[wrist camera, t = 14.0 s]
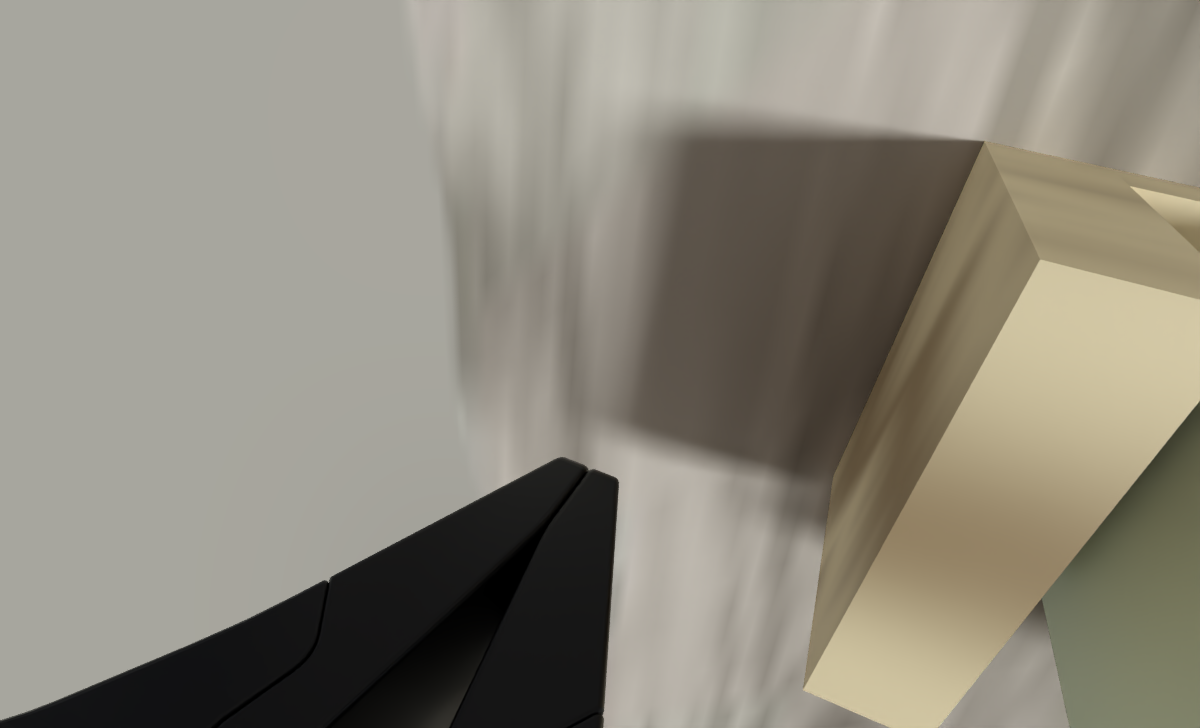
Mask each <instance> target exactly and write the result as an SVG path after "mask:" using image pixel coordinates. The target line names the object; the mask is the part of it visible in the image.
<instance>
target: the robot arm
mask: <svg viewBox="0 0 1200 728" xmlns="http://www.w3.org/2000/svg"><path fill="white" fill-rule="evenodd" d="M618 490H619V482H618V479H617V478H615V477H613V476H611V475H608V474H605V473H603V472H600V471H598V470H595V469H592V470H588V468H587V467H586V466H585V465H583V464H580V463H578V462H575V461H573V460H570V459H568V458H565V457H560V458H557V459H554V460H553V461H551V462H549V463H547V464H545V465H543V466H541V467H539V468H537V469H535V470H534V471H532V472H530V473H528V474H526V475H524V476H522V477H520V478H518V479H516V480H514V481H513V482H511V483H509V484H507V485H505V486H503V487H501V488H499V489H497V490H495V491H494V492H492V493H490V494H488V495H486V496H484V497H482V498H480V499H478V500H476V501H474V502H473V503H471V504H469V505H467V506H465V507H463V508H461V509H459V510H457V511H455V512H454V513H452V514H450V515H448V516H446V517H444V518H442V519H440V520H438V521H436V522H434V523H433V524H431V525H429V526H427V527H425V528H423V529H421V530H419V531H418V532H415V533H414V534H412V535H410V536H408V537H406V538H404V539H402V540H400V541H398V542H396V543H395V544H393V545H391V546H389V547H387V548H385V549H383V550H381V551H379V552H377V553H376V554H374V555H372V556H370V557H368V558H366V559H364V560H362V561H360V562H358V563H357V564H355V565H353V566H351V567H349V568H347V569H345V570H343V571H341V572H339V573H337V574H336V575H334V576H332V577H331V578H330V580H329V583H328V582H327V581H325V580H324V581H322V582H320V583H318V584H316V585H314V586H312V587H310V588H309V589H306V590H304V591H303V592H301V593H299V594H297V595H295V596H293V597H291V598H289V599H287V600H285V601H283V602H281V603H279V604H277V605H275V606H273V607H271V608H269V609H267V610H265V611H263V612H261V613H259V614H257V615H255V616H253V617H251V618H249V619H247V620H244V621H242V622H240V623H238V624H235V625H233V626H231V627H229V628H226V629H224V630H222V631H220V632H217V633H215V634H213V635H210V636H208V637H206V638H204V639H201V640H199V641H197V642H195V643H193V644H190V645H188V646H186V647H183V648H181V649H178V650H176V651H173V652H171V653H169V654H166V655H164V656H162V657H159V658H157V659H155V660H152V661H150V662H147V663H145V664H143V665H140V666H138V667H135V668H133V669H131V670H128V671H126V672H124V673H121V674H119V675H116V676H114V677H111V678H109V679H107V680H104V681H102V682H100V683H97V684H95V685H92V686H90V687H88V688H85V689H83V690H80V691H78V692H76V693H73V694H71V695H68V696H66V697H64V698H61V699H59V700H56V701H54V702H51V703H49V704H47V705H44V706H41V707H38V708H36V709H33V710H31V711H28V712H25V713H22V714H19V715H16V716H12V717H9V718H6V719H4V720H0V728H603V724H604V718H603V716H602V715H603V712H604V703H605V688H606V673H607V658H608V642H609V627H610V612H611V597H612V581H613V566H614V551H615V536H616V521H617V505H618Z"/></svg>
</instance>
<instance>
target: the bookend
mask: <svg viewBox="0 0 1200 728" xmlns="http://www.w3.org/2000/svg"><path fill="white" fill-rule="evenodd" d="M1199 401H1200V188H1198V187H1194V186H1189V185H1184V184H1180V183H1175V182H1170V181H1166V180H1161V179H1157V178H1152V177H1147V176H1143V175H1138V174H1134V173H1129V172H1124V171H1120V170H1115V169H1111V168H1106V167H1101V166H1097V165H1092V164H1087V163H1083V162H1078V161H1074V160H1069V159H1064V158H1060V157H1055V156H1051V155H1046V154H1041V153H1037V152H1032V151H1027V150H1023V149H1018V148H1014V147H1009V146H1004V145H1000V144H995V143H991V142H986V141H984V143H983V145H982V148H981V150H980V152H979V154H978V157H977V159H976V161H975V163H974V165H973V168H972V170H971V172H970V174H969V177H968V179H967V181H966V183H965V185H964V188H963V190H962V192H961V194H960V196H959V199H958V201H957V203H956V205H955V208H954V210H953V212H952V214H951V216H950V219H949V221H948V223H947V225H946V227H945V230H944V232H943V234H942V236H941V239H940V241H939V243H938V245H937V247H936V250H935V252H934V254H933V256H932V259H931V261H930V263H929V265H928V267H927V270H926V272H925V274H924V276H923V278H922V281H921V283H920V285H919V287H918V290H917V292H916V294H915V296H914V298H913V301H912V303H911V305H910V307H909V309H908V312H907V314H906V316H905V318H904V321H903V323H902V325H901V327H900V329H899V332H898V334H897V336H896V338H895V340H894V343H893V345H892V347H891V349H890V352H889V354H888V356H887V358H886V360H885V363H884V365H883V367H882V369H881V372H880V374H879V376H878V378H877V380H876V383H875V385H874V387H873V389H872V391H871V394H870V396H869V398H868V400H867V403H866V405H865V407H864V409H863V411H862V414H861V416H860V418H859V420H858V422H857V425H856V427H855V429H854V431H853V434H852V436H851V438H850V440H849V442H848V445H847V447H846V449H845V451H844V454H843V456H842V458H841V460H840V462H839V465H838V467H837V469H836V471H835V473H834V476H833V482H832V489H831V496H830V503H829V510H828V517H827V524H826V531H825V538H824V545H823V552H822V559H821V566H820V573H819V580H818V588H817V595H816V602H815V609H814V616H813V623H812V630H811V637H810V644H809V651H808V658H807V665H806V672H805V679H804V686H803V690H804V691H806V692H809V693H811V694H813V695H815V696H818V697H820V698H822V699H825V700H827V701H829V702H832V703H834V704H836V705H839V706H841V707H843V708H846V709H848V710H850V711H852V712H855V713H857V714H859V715H862V716H864V717H866V718H869V719H871V720H873V721H876V722H878V723H880V724H883V725H885V726H887V727H890V728H938V727H939V726H940V725H941V723H942V722H943V721H944V720H945V718H946V717H947V716H948V715H949V713H950V712H951V711H952V710H953V708H954V707H955V706H956V705H957V703H958V702H959V701H960V700H961V698H962V697H963V696H964V695H965V693H966V692H967V691H968V690H969V688H970V687H971V686H972V685H973V683H974V682H975V681H976V680H977V678H978V677H979V676H980V675H981V673H982V672H983V671H984V670H985V668H986V667H987V666H988V665H989V663H990V662H991V661H992V660H993V658H994V657H995V656H996V655H997V653H998V652H999V651H1000V650H1001V648H1002V647H1003V646H1004V645H1005V643H1006V642H1007V641H1008V640H1009V638H1010V637H1011V636H1012V635H1013V633H1014V632H1015V631H1016V630H1017V628H1018V627H1019V626H1020V625H1021V623H1022V622H1023V621H1024V620H1025V618H1026V617H1027V616H1028V615H1029V613H1030V612H1031V611H1032V610H1033V608H1034V607H1035V606H1036V605H1037V603H1038V602H1039V601H1040V600H1041V598H1042V597H1043V596H1044V595H1045V593H1046V592H1047V591H1048V590H1049V588H1050V587H1051V586H1052V585H1053V583H1054V582H1055V581H1056V580H1057V578H1058V577H1059V576H1060V575H1061V573H1062V572H1063V571H1064V570H1065V568H1066V567H1067V566H1068V565H1069V563H1070V562H1071V561H1072V560H1073V559H1074V557H1075V556H1076V555H1077V554H1078V552H1079V551H1080V550H1081V549H1082V547H1083V546H1084V545H1085V544H1086V542H1087V541H1088V540H1089V539H1090V537H1091V536H1092V535H1093V534H1094V532H1095V531H1096V530H1097V529H1098V527H1099V526H1100V525H1101V524H1102V522H1103V521H1104V520H1105V519H1106V517H1107V516H1108V515H1109V514H1110V512H1111V511H1112V510H1113V509H1114V507H1115V506H1116V505H1117V504H1118V502H1119V501H1120V500H1121V499H1122V497H1123V496H1124V495H1125V494H1126V492H1127V491H1128V490H1129V489H1130V487H1131V486H1132V485H1133V484H1134V482H1135V481H1136V480H1137V479H1138V477H1139V476H1140V475H1141V474H1142V472H1143V471H1144V470H1145V469H1146V467H1147V466H1148V465H1149V464H1150V462H1151V461H1152V460H1153V459H1154V457H1155V456H1156V455H1157V454H1158V452H1159V451H1160V450H1161V449H1162V447H1163V446H1164V445H1165V444H1166V442H1167V441H1168V440H1169V439H1170V437H1171V436H1172V435H1173V434H1174V432H1175V431H1176V430H1177V429H1178V427H1179V426H1180V425H1181V424H1182V422H1183V421H1184V420H1185V419H1186V417H1187V416H1188V415H1189V414H1190V412H1191V411H1192V410H1193V409H1194V407H1195V406H1196V405H1197V404H1198V402H1199Z"/></svg>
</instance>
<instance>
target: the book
mask: <svg viewBox="0 0 1200 728" xmlns="http://www.w3.org/2000/svg"><path fill="white" fill-rule="evenodd" d="M1042 602H1043V606H1044V611H1045V616H1046V620H1047V625H1048V629H1049V634H1050V639H1051V643H1052V648H1053V653H1054V657H1055V662H1056V666H1057V671H1058V676H1059V680H1060V685H1061V689H1062V694H1063V699H1064V703H1065V708H1066V713H1067V717H1068V722H1069V726H1070V728H1200V401H1199V402H1198V404H1197V405H1196V406H1195V407H1194V409H1193V410H1192V411H1191V412H1190V414H1189V415H1188V416H1187V417H1186V419H1185V420H1184V421H1183V422H1182V424H1181V425H1180V426H1179V427H1178V429H1177V430H1176V431H1175V432H1174V434H1173V435H1172V436H1171V437H1170V439H1169V440H1168V441H1167V442H1166V444H1165V445H1164V446H1163V447H1162V449H1161V450H1160V451H1159V452H1158V454H1157V455H1156V456H1155V457H1154V459H1153V460H1152V461H1151V462H1150V464H1149V465H1148V466H1147V467H1146V469H1145V470H1144V471H1143V472H1142V474H1141V475H1140V476H1139V477H1138V479H1137V480H1136V481H1135V482H1134V484H1133V485H1132V486H1131V487H1130V489H1129V490H1128V491H1127V492H1126V494H1125V495H1124V496H1123V497H1122V499H1121V500H1120V501H1119V502H1118V504H1117V505H1116V506H1115V507H1114V509H1113V510H1112V511H1111V512H1110V514H1109V515H1108V516H1107V517H1106V519H1105V520H1104V521H1103V522H1102V524H1101V525H1100V526H1099V527H1098V529H1097V530H1096V531H1095V532H1094V534H1093V535H1092V536H1091V537H1090V539H1089V540H1088V541H1087V542H1086V544H1085V545H1084V546H1083V547H1082V549H1081V550H1080V551H1079V552H1078V554H1077V555H1076V556H1075V557H1074V559H1073V560H1072V561H1071V562H1070V563H1069V565H1068V566H1067V567H1066V568H1065V570H1064V571H1063V572H1062V573H1061V575H1060V576H1059V577H1058V578H1057V580H1056V581H1055V582H1054V583H1053V585H1052V586H1051V587H1050V588H1049V590H1048V591H1047V592H1046V593H1045V595H1044V596H1043V597H1042Z"/></svg>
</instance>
